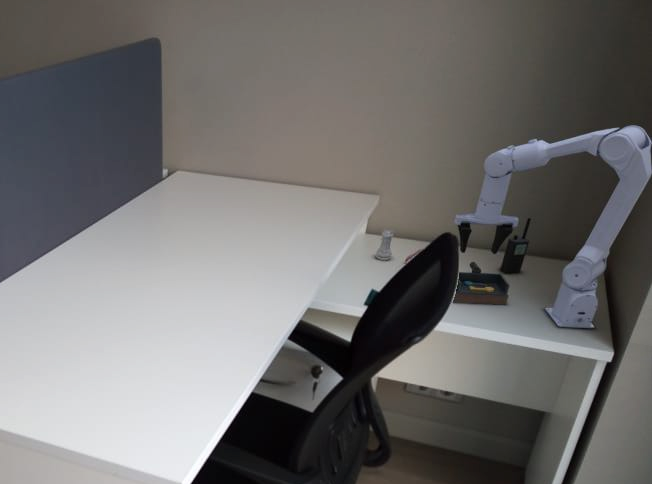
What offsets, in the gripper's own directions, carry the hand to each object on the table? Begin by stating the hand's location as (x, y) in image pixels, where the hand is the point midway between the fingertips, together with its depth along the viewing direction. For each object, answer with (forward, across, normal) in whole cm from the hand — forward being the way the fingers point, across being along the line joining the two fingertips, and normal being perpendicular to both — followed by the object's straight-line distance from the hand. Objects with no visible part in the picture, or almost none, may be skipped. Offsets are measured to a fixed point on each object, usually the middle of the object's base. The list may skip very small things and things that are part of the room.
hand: (477, 251), depth 186 cm
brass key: (+7, 0, +8) cm, 11 cm away
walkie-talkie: (+10, -14, -12) cm, 21 cm away
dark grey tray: (+7, 0, +4) cm, 9 cm away
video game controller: (+10, +11, -10) cm, 18 cm away
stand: (+10, 0, +6) cm, 12 cm away
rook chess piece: (+10, +19, -18) cm, 28 cm away
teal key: (+7, 0, +5) cm, 9 cm away
